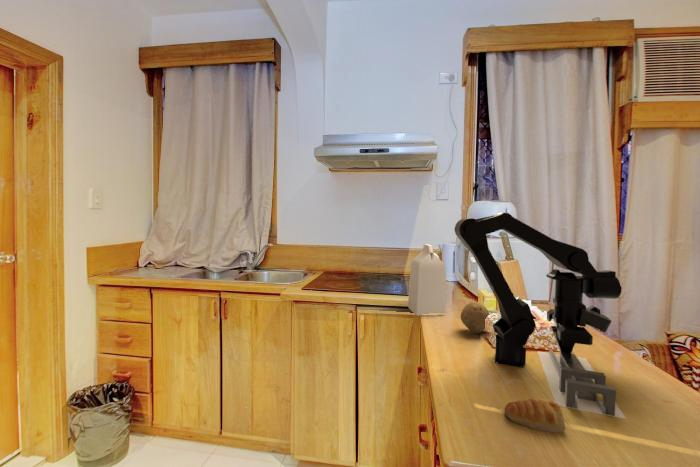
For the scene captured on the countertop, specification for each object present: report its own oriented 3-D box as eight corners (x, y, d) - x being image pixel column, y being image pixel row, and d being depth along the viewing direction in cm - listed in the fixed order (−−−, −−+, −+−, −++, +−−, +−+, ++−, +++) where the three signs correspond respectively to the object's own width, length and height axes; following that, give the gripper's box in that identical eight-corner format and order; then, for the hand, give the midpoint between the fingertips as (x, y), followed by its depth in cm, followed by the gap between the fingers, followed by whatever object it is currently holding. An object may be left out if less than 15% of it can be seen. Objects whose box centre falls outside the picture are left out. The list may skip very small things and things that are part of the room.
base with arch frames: (556, 408, 65) (557, 381, 65) (537, 353, 91) (538, 333, 91) (626, 422, 61) (628, 393, 61) (585, 360, 87) (586, 340, 87)
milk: (407, 307, 137) (409, 243, 136) (435, 306, 138) (436, 243, 137) (416, 315, 125) (418, 246, 124) (446, 315, 126) (448, 246, 125)
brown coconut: (453, 330, 109) (454, 299, 109) (473, 326, 114) (474, 297, 113) (475, 339, 101) (476, 306, 101) (495, 335, 105) (496, 303, 105)
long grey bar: (577, 398, 68) (578, 383, 68) (559, 364, 84) (560, 352, 83) (595, 401, 67) (596, 386, 66) (574, 366, 82) (574, 354, 82)
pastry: (509, 428, 59) (509, 407, 59) (500, 407, 66) (501, 388, 66) (568, 436, 57) (569, 414, 57) (553, 414, 64) (554, 394, 64)
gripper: (622, 310, 72) (619, 382, 72) (595, 292, 89) (593, 349, 90) (562, 305, 76) (559, 373, 77) (547, 288, 93) (545, 343, 94)
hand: (565, 358), depth 84 cm, fingers closed
